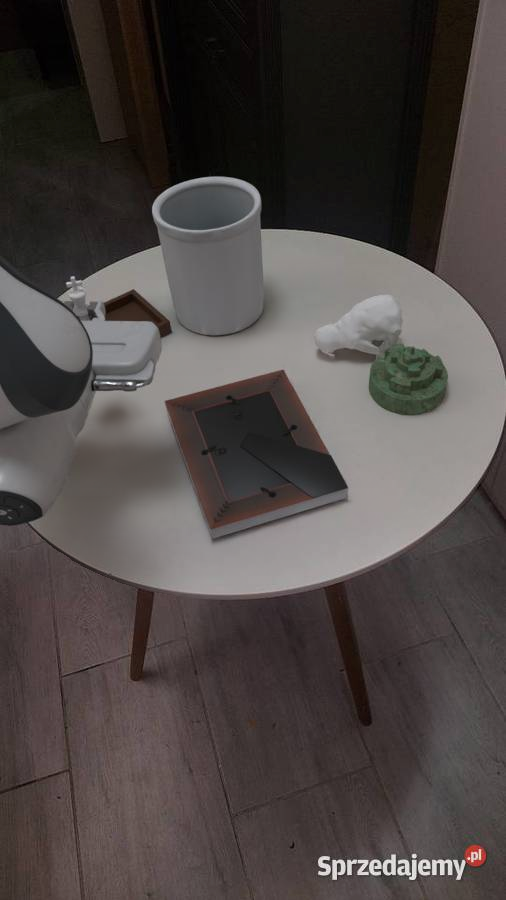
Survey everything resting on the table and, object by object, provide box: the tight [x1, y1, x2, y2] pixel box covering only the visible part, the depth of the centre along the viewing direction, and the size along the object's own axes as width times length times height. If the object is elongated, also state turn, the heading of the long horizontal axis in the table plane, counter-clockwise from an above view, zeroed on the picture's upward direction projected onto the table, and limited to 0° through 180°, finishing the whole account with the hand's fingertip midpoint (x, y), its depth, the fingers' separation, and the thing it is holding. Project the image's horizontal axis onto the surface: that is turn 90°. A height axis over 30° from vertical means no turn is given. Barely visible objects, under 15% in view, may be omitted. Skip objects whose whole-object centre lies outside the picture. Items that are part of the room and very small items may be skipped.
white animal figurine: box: [313, 294, 403, 359], centre depth 94 cm, size 6×8×12 cm
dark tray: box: [77, 288, 173, 339], centre depth 102 cm, size 11×11×2 cm
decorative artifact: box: [368, 343, 449, 415], centre depth 89 cm, size 10×7×10 cm
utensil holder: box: [151, 176, 265, 336], centre depth 99 cm, size 15×15×18 cm
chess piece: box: [65, 275, 90, 321], centre depth 79 cm, size 5×5×10 cm
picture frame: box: [164, 369, 349, 540], centre depth 84 cm, size 16×2×22 cm
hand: (83, 305), depth 79 cm, fingers closed on chess piece
